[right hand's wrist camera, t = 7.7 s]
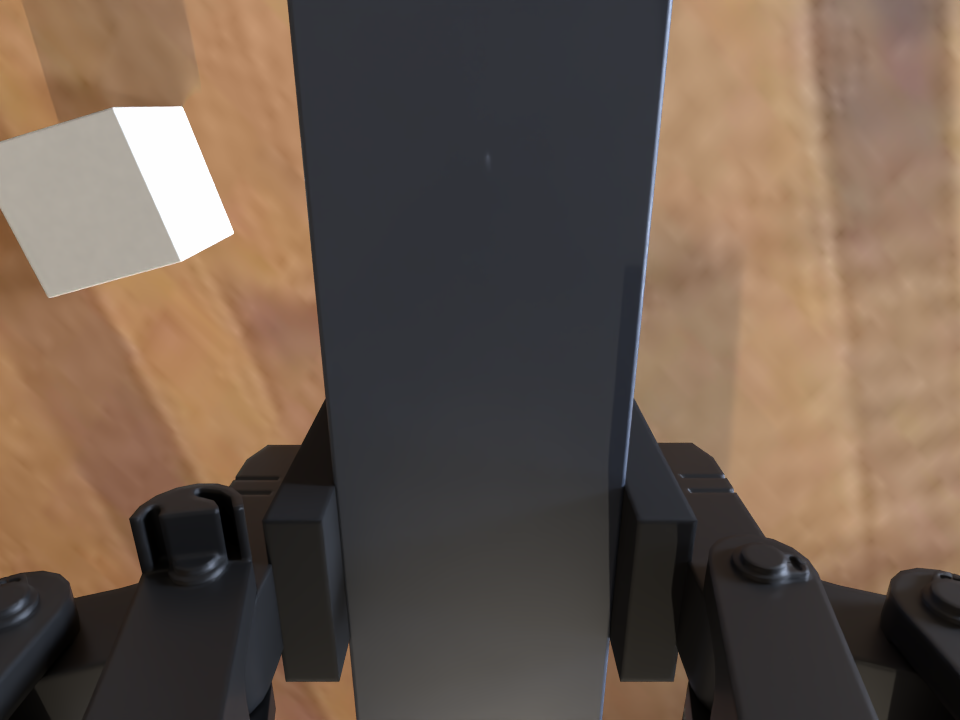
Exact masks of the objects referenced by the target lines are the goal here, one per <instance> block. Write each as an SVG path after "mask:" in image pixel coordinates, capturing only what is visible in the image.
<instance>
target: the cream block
mask: <svg viewBox="0 0 960 720" xmlns="http://www.w3.org/2000/svg"><path fill="white" fill-rule="evenodd" d="M0 209H1V211H2V213H3V214H4V216H5V218H6V220H7V222H8V224H9V226H10V228H11V229H12V231H13V233H14V235H15V237H16V239H17V241H18V243H19V244H20V246H21V248H22V250H23V252H24V254H25V256H26V258H27V259H28V261H29V263H30V265H31V267H32V269H33V271H34V272H35V274H36V276H37V278H38V280H39V282H40V284H41V286H42V287H43V289H44V291H45V293H46V295H47V297H48V298H52V297H56V296H59V295H63V294H67V293H70V292H74V291H77V290H81V289H85V288H88V287H92V286H95V285H99V284H103V283H106V282H110V281H114V280H117V279H121V278H124V277H128V276H132V275H135V274H139V273H142V272H146V271H150V270H153V269H157V268H160V267H164V266H168V265H171V264H175V263H179V262H182V261H184V260H186V259H187V258H189V257H191V256H193V255H195V254H197V253H199V252H200V251H202V250H204V249H206V248H208V247H210V246H212V245H214V244H215V243H217V242H219V241H221V240H223V239H225V238H227V237H229V236H230V235H232V234H234V232H233V229H232V227H231V224H230V222H229V220H228V217H227V215H226V212H225V210H224V207H223V205H222V202H221V200H220V198H219V195H218V193H217V190H216V188H215V185H214V183H213V180H212V178H211V175H210V173H209V171H208V168H207V166H206V163H205V161H204V158H203V156H202V153H201V151H200V149H199V146H198V144H197V141H196V139H195V136H194V134H193V131H192V129H191V127H190V124H189V122H188V119H187V117H186V114H185V112H184V109H183V107H181V106H172V107H112V108H108V109H105V110H102V111H99V112H95V113H92V114H89V115H85V116H82V117H79V118H76V119H72V120H69V121H66V122H63V123H59V124H56V125H53V126H49V127H46V128H43V129H40V130H36V131H33V132H30V133H26V134H23V135H20V136H17V137H13V138H10V139H7V140H3V141H0Z"/></svg>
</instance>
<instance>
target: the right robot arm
mask: <svg viewBox="0 0 960 720" xmlns="http://www.w3.org/2000/svg"><path fill="white" fill-rule="evenodd" d="M129 520H130V524H131V528H132V533H133V537H134V541H135V545H136V549H137V554H138V558H139V562H140V566H141V570H142V576H141V578H140V581H139V583H137V584H134V585H130V586H127V587H123V588H119V589H115V590H110V591H105V592H101V593H96V594H91V595H87V596H82V597H77V598H74V597H73V594H72V590H71V587H70V583H69V582H68V581H67V580H66V579H65V578H64V577H63V576H61V575H60V574H57V573H52V572H46V571H36V572H26V573H19V574H15V575H11V576H9V577H4V578H1V579H0V720H275V710H276V707H275V700H274V694H273V687H272V679H273V676H274V673H275V671H276V668H277V665H278V662H279V660H280V657H281V654H282V659H283V666H284V673H285V679H286V682H339V681H340V676H341V672H342V668H343V664H344V660H345V656H346V652H347V648H348V643H349V639H350V634H349V624H348V613H347V603H346V593H345V582H344V572H343V562H342V551H341V541H340V531H339V520H338V510H337V500H336V489H335V485H334V480H333V469H332V459H331V449H330V438H329V428H328V418H327V407H326V399H325V401H324V402H323V404H322V406H321V408H320V410H319V412H318V414H317V416H316V418H315V420H314V422H313V424H312V426H311V427H310V429H309V431H308V433H307V435H306V437H305V439H304V441H303V443H302V445H267V446H266V447H264V448H263V449H261V450H260V451H259V452H257V453H256V454H254V455H253V456H251V457H250V458H249V459H247V460H246V462H245V463H244V465H243V466H242V468H241V469H240V471H239V472H238V474H237V476H236V480H233V482H232V483H231V485H230V486H229V487H228V486H225V485H221V484H193V485H188V486H183V487H178V488H175V489H172V490H170V491H167V492H164V493H162V494H159V495H157V496H155V497H153V498H152V499H150V500H149V501H147V502H146V503H144V504H143V505H141V506H139V508H138V509H137V510H136V511H135V512H134V514H133V515H132V516H131V517H130V518H129ZM610 641H611V645H612V649H613V653H614V657H615V662H616V666H617V670H618V674H619V678H620V682H674V676H675V670H676V663H677V656H678V652H679V655H680V657H681V660H682V663H683V666H684V669H685V671H686V674H687V677H688V680H689V681H688V687H687V693H686V700H685V706H684V712H683V719H682V720H960V576H959V575H956V574H951V573H949V572H945V571H941V570H933V569H923V568H915V569H909V570H904V571H900V572H899V573H898V574H897V575H896V576H894V577H893V578H892V579H891V581H890V585H889V588H888V592H887V595H881V594H877V593H872V592H867V591H863V590H858V589H853V588H849V587H844V586H839V585H836V584H832V583H829V582H825V581H822V580H821V579H820V577H819V575H818V573H817V571H816V570H815V568H814V567H813V566H812V564H811V563H810V561H809V560H808V559H807V558H805V557H804V556H803V555H801V554H800V553H799V552H797V551H796V550H795V549H793V548H792V547H790V546H787V545H785V544H783V543H781V542H778V541H776V540H774V539H770V538H766V537H765V536H764V534H763V533H762V531H761V530H760V528H759V527H758V525H757V524H756V522H755V521H754V519H753V518H752V516H751V515H750V513H749V511H748V510H747V508H746V507H745V505H744V504H743V502H742V501H741V499H740V498H739V496H738V495H737V493H734V489H733V487H732V486H731V484H730V483H729V481H728V480H727V478H724V473H723V472H722V470H721V469H720V467H719V466H718V464H717V463H716V461H715V460H714V458H713V457H711V456H710V455H709V454H707V453H706V452H704V451H703V450H701V449H700V448H698V447H697V446H696V445H694V444H693V443H657V442H656V440H655V438H654V436H653V434H652V432H651V430H650V428H649V426H648V424H647V422H646V421H645V419H644V417H643V415H642V413H641V411H640V409H639V407H638V405H637V403H636V401H635V399H634V398H633V409H632V419H631V429H630V439H629V449H628V459H627V470H626V480H625V485H624V495H623V505H622V515H621V525H620V536H619V546H618V556H617V566H616V577H615V587H614V597H613V607H612V618H611V628H610Z"/></svg>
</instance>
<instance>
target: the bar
mask: <svg viewBox="0 0 960 720" xmlns="http://www.w3.org/2000/svg"><path fill="white" fill-rule="evenodd" d="M287 2H288V12H289V23H290V33H291V43H292V54H293V64H294V75H295V85H296V95H297V106H298V116H299V127H300V137H301V147H302V158H303V168H304V179H305V189H306V199H307V210H308V220H309V230H310V241H311V251H312V262H313V272H314V282H315V293H316V303H317V314H318V324H319V334H320V345H321V355H322V366H323V376H324V386H325V397H326V407H327V418H328V428H329V438H330V449H331V459H332V469H333V480H334V485H335V489H336V500H337V510H338V520H339V531H340V541H341V551H342V562H343V572H344V582H345V593H346V603H347V613H348V624H349V634H350V639H349V646H350V656H351V667H352V677H353V688H354V698H355V708H356V719H357V720H602V713H603V703H604V693H605V683H606V673H607V662H608V652H609V642H610V628H611V618H612V607H613V597H614V587H615V577H616V566H617V556H618V546H619V536H620V525H621V515H622V505H623V495H624V485H625V480H626V470H627V459H628V449H629V439H630V429H631V419H632V409H633V398H634V388H635V378H636V368H637V358H638V348H639V338H640V327H641V317H642V307H643V297H644V287H645V277H646V266H647V256H648V246H649V236H650V226H651V216H652V206H653V195H654V185H655V175H656V165H657V155H658V145H659V134H660V124H661V114H662V104H663V94H664V84H665V74H666V63H667V53H668V43H669V33H670V23H671V13H672V3H673V0H287Z"/></svg>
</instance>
